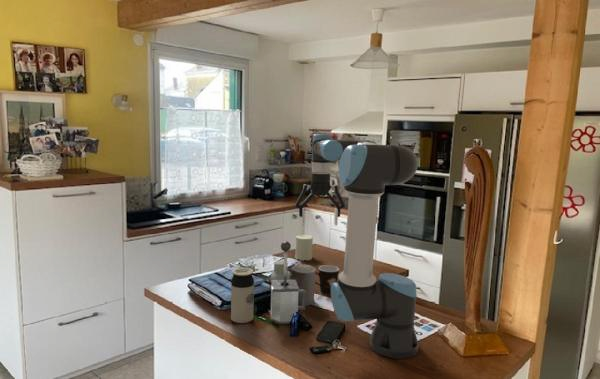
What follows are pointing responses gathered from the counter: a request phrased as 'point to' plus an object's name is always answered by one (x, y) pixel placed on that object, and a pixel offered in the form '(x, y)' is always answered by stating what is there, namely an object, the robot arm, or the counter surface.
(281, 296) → the carafe
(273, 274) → the air freshener
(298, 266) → the grey cylinder
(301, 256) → the can
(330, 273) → the coffee mug
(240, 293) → the travel mug
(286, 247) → the plunger
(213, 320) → the counter surface
